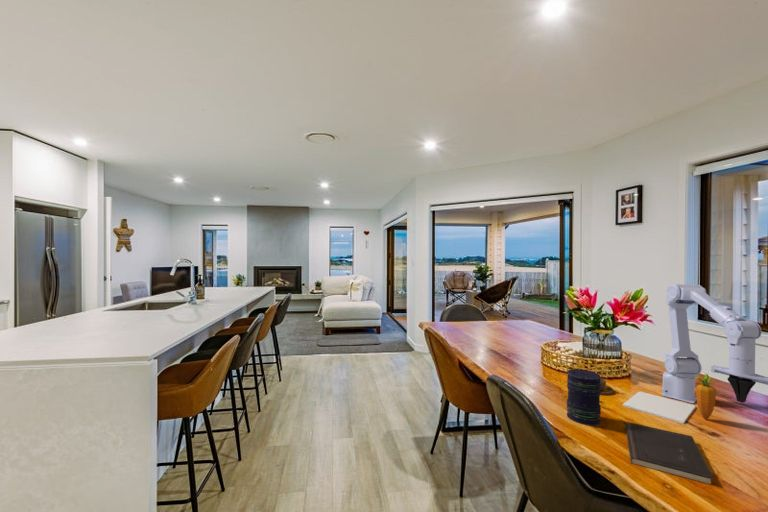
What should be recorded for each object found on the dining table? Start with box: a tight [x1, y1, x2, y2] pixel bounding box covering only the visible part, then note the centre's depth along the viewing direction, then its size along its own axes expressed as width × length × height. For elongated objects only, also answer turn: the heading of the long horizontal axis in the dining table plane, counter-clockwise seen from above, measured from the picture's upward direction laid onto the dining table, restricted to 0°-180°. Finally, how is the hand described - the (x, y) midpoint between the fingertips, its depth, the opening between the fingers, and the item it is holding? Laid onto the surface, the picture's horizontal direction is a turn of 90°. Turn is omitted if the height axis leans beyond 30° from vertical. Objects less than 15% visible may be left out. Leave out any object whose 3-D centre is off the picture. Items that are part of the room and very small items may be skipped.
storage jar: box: [566, 362, 602, 426], centre depth 116 cm, size 10×10×18 cm
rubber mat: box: [622, 391, 697, 425], centre depth 126 cm, size 17×20×1 cm
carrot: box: [695, 373, 717, 421], centre depth 116 cm, size 5×5×15 cm
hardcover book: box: [625, 421, 714, 485], centre depth 96 cm, size 16×23×2 cm
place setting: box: [600, 377, 614, 400], centre depth 140 cm, size 18×20×6 cm
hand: (741, 401), depth 110 cm, fingers closed
